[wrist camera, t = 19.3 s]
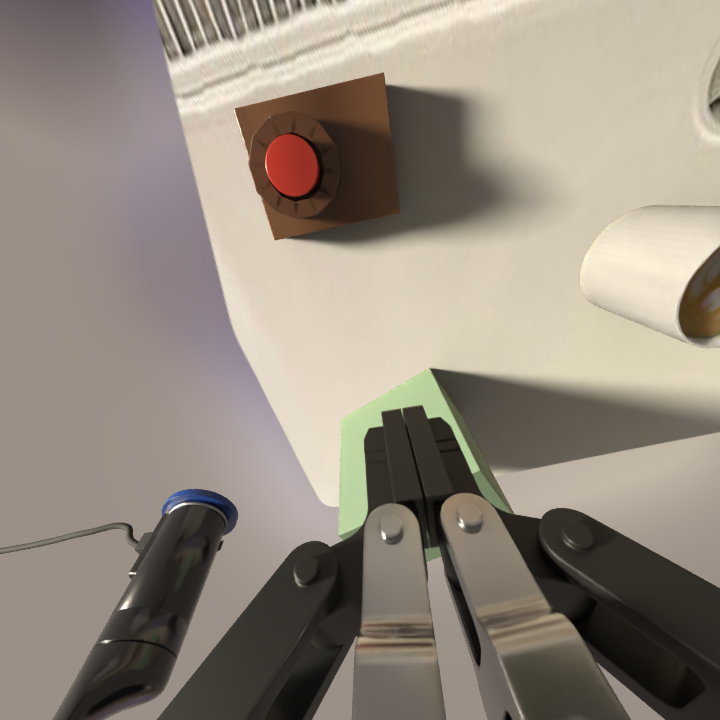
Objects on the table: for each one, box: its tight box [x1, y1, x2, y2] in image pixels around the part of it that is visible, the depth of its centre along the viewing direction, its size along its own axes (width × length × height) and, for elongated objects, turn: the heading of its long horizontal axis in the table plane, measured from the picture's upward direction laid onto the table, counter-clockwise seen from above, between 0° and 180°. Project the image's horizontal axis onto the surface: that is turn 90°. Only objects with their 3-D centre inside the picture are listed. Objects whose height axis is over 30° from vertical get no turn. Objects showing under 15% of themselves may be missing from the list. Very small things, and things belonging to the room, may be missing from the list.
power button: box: [266, 134, 320, 197], centre depth 21 cm, size 4×4×2 cm
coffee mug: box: [580, 206, 720, 348], centre depth 25 cm, size 13×10×10 cm
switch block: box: [234, 73, 400, 240], centre depth 23 cm, size 11×9×4 cm
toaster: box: [338, 368, 514, 562], centre depth 31 cm, size 13×9×15 cm, turn 125°
